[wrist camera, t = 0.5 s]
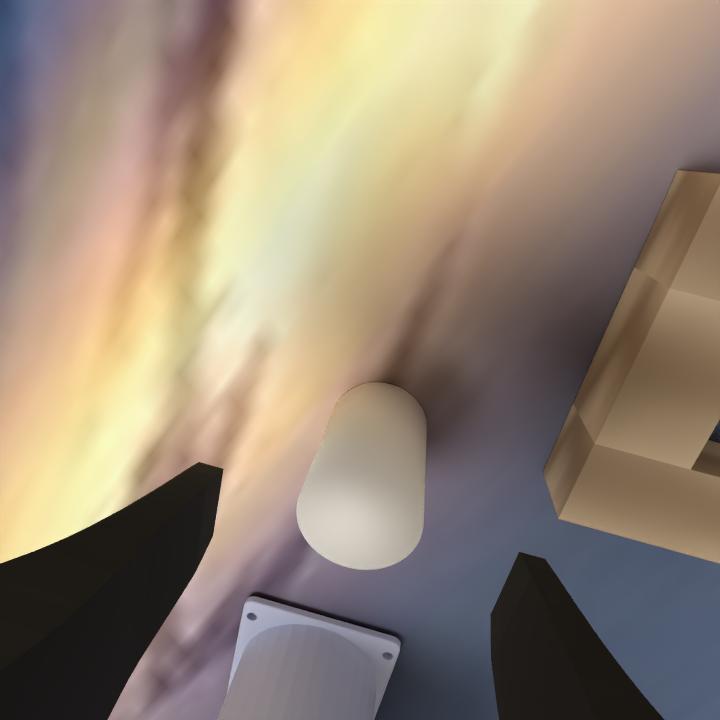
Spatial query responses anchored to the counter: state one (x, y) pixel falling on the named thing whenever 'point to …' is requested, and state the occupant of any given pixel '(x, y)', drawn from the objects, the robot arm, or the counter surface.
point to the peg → (367, 480)
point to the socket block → (654, 392)
